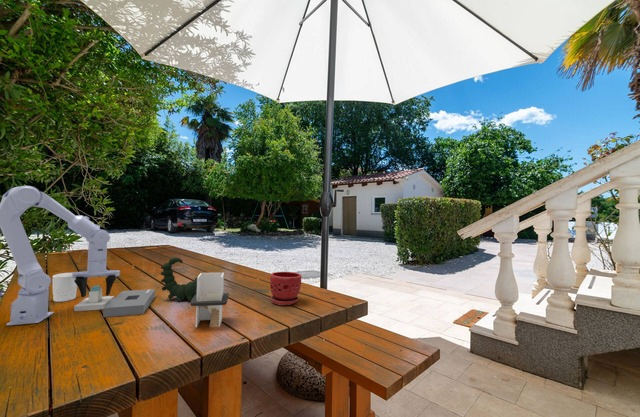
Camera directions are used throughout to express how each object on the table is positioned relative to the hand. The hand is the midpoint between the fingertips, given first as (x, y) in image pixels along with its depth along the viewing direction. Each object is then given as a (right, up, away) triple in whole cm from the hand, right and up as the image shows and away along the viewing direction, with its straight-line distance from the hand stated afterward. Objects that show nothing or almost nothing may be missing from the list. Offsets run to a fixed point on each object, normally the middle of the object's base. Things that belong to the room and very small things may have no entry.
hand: (95, 295), depth 109 cm
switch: (+13, -4, +1) cm, 14 cm away
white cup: (-18, -4, +6) cm, 19 cm away
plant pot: (+71, -6, +11) cm, 73 cm away
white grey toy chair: (+49, -6, -14) cm, 51 cm away
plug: (0, -4, 0) cm, 4 cm away
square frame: (0, -4, 0) cm, 4 cm away
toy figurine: (+32, -5, +10) cm, 34 cm away
